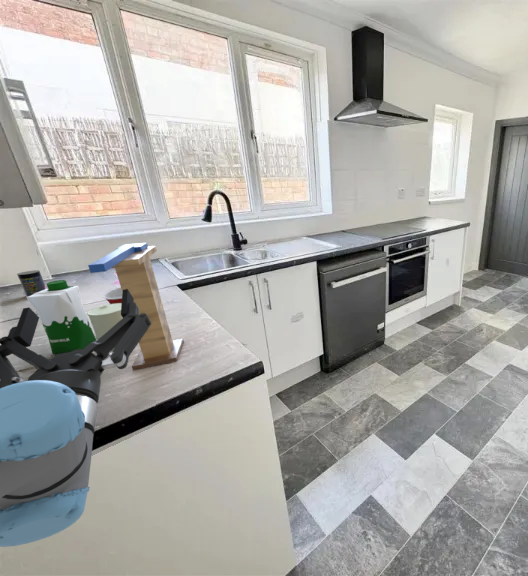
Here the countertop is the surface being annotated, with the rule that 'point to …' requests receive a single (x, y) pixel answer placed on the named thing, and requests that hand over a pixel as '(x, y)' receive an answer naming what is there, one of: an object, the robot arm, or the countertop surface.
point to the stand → (148, 309)
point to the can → (105, 318)
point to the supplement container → (31, 282)
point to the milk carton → (63, 317)
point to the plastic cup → (114, 296)
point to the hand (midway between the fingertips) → (82, 303)
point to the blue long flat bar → (116, 257)
